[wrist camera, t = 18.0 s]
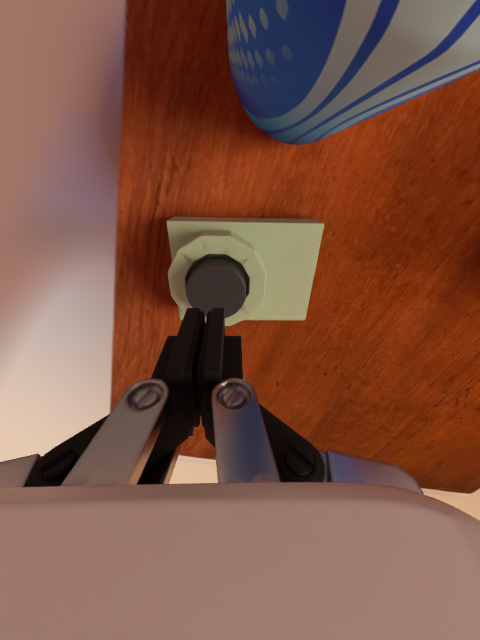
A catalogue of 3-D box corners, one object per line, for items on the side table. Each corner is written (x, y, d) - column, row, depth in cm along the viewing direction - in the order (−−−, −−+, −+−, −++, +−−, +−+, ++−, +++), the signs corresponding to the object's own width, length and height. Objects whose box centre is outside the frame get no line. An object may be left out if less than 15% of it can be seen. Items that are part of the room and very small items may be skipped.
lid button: (192, 307, 18) (189, 319, 16) (187, 256, 16) (182, 264, 14) (244, 307, 18) (245, 319, 16) (245, 256, 16) (247, 265, 14)
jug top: (184, 307, 22) (175, 331, 18) (173, 216, 18) (158, 225, 14) (299, 308, 22) (311, 331, 19) (315, 218, 18) (334, 228, 14)
